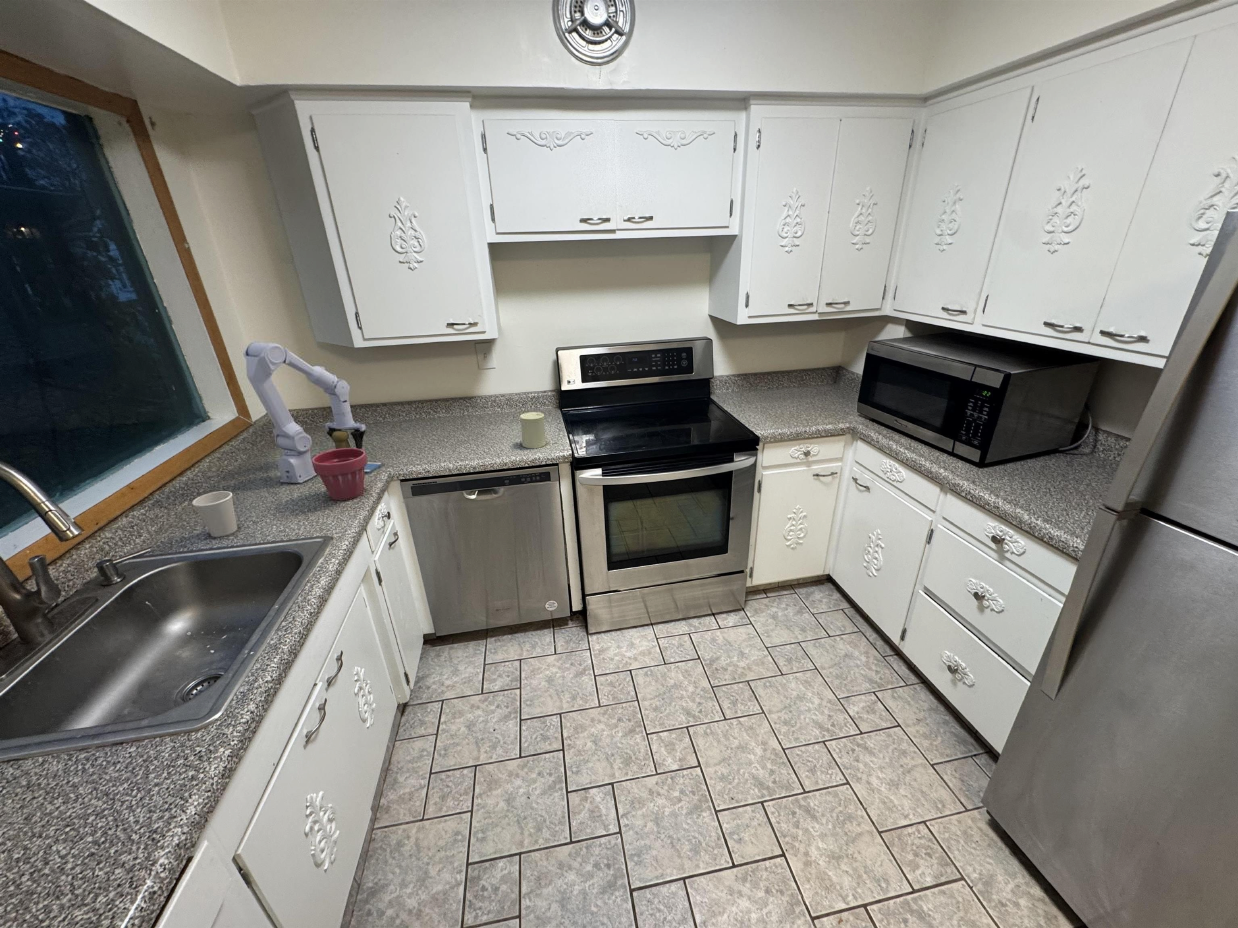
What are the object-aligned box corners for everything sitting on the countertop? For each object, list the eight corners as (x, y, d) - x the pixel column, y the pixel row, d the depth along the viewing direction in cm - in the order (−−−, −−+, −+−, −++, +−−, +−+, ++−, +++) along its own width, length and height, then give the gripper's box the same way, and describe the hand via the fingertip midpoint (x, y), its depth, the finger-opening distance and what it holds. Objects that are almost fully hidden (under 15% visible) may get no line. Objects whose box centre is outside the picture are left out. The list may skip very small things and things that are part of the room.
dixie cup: (237, 520, 140) (226, 488, 136) (247, 530, 135) (236, 496, 131) (200, 532, 134) (188, 498, 130) (209, 542, 129) (196, 508, 125)
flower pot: (376, 482, 163) (369, 445, 158) (368, 500, 150) (360, 461, 146) (328, 487, 160) (318, 449, 155) (315, 506, 147) (305, 466, 142)
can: (548, 446, 193) (546, 416, 188) (524, 449, 190) (522, 419, 185) (543, 438, 201) (541, 409, 196) (520, 441, 198) (517, 412, 193)
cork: (347, 464, 178) (340, 434, 173) (332, 463, 179) (325, 433, 175) (359, 458, 183) (352, 429, 179) (344, 456, 184) (337, 428, 180)
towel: (369, 473, 170) (368, 471, 170) (345, 471, 171) (344, 470, 171) (382, 464, 177) (382, 462, 177) (359, 463, 179) (359, 461, 178)
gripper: (367, 410, 180) (375, 445, 185) (331, 408, 182) (339, 443, 188) (355, 415, 174) (363, 452, 179) (317, 414, 176) (326, 450, 181)
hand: (350, 448), depth 183 cm, fingers open, 7 cm apart
